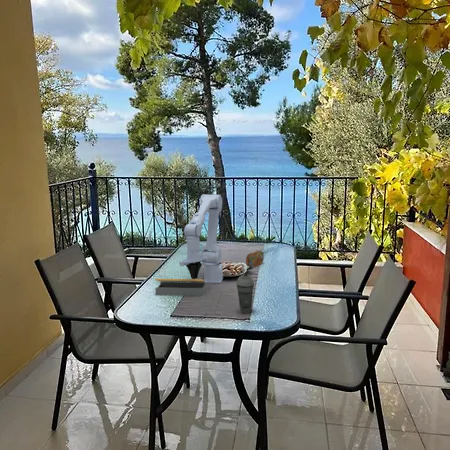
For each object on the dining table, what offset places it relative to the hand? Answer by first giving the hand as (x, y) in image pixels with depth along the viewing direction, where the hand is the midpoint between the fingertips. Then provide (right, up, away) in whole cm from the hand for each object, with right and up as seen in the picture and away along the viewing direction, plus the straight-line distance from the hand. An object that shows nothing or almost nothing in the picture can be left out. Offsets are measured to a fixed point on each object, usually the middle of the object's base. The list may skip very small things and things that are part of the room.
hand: (194, 278), depth 198 cm
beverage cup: (+23, -11, -21) cm, 33 cm away
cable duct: (-7, -7, +4) cm, 10 cm away
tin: (+31, +1, +45) cm, 55 cm away
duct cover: (-7, -2, +3) cm, 8 cm away
